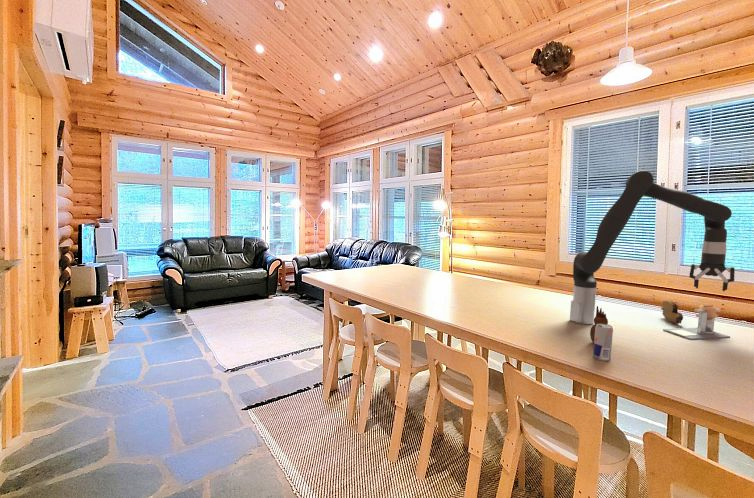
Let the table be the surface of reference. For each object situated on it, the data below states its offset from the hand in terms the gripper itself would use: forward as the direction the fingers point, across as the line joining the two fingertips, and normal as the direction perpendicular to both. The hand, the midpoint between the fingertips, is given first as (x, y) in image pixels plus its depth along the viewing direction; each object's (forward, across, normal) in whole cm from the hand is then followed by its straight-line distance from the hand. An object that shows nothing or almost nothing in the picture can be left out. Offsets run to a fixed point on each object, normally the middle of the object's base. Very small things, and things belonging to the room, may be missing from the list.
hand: (709, 289), depth 158 cm
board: (+20, +3, +4) cm, 20 cm away
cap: (+12, 0, 0) cm, 12 cm away
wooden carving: (+20, +12, -13) cm, 26 cm away
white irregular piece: (+20, 0, 0) cm, 20 cm away
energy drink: (+19, +29, +63) cm, 72 cm away
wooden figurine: (+20, +32, +47) cm, 61 cm away
